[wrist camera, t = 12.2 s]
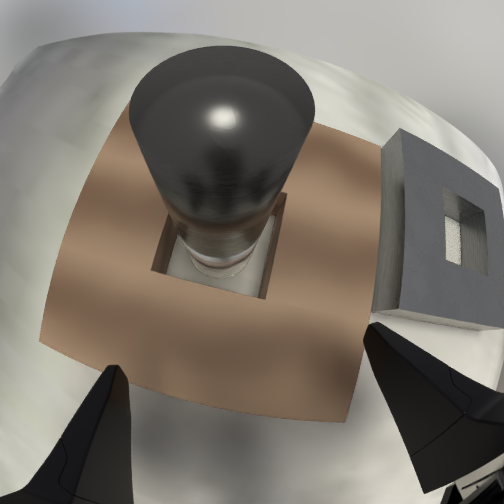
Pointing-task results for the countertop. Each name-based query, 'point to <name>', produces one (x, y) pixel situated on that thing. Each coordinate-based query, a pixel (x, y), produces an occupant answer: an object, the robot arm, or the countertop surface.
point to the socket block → (437, 239)
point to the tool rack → (221, 301)
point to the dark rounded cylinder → (221, 145)
